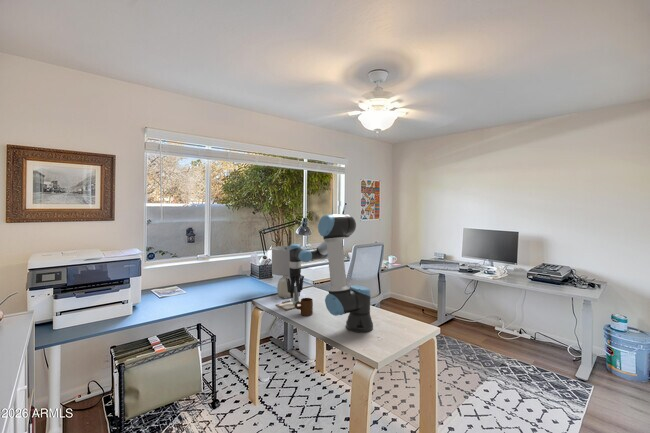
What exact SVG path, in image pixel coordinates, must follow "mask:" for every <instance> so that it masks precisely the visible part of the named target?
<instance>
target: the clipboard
mask: <svg viewBox="0 0 650 433" xmlns="http://www.w3.org/2000/svg"><path fill="white" fill-rule="evenodd" d="M275 306H276V307H278V308H279V309H281V310H284V311H285V312H288V311H291V310H295V309H296V308H295V305H293V303H292V302H291V300H285V301H282V302H281V303H279V304H278V303H276V304H275ZM297 306H298V307H301V304H297ZM296 310H297V309H296Z"/></svg>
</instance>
